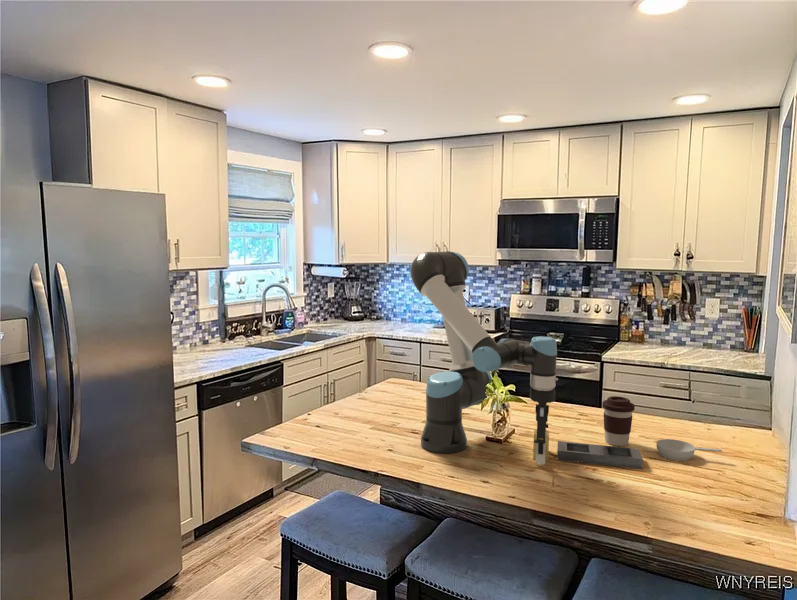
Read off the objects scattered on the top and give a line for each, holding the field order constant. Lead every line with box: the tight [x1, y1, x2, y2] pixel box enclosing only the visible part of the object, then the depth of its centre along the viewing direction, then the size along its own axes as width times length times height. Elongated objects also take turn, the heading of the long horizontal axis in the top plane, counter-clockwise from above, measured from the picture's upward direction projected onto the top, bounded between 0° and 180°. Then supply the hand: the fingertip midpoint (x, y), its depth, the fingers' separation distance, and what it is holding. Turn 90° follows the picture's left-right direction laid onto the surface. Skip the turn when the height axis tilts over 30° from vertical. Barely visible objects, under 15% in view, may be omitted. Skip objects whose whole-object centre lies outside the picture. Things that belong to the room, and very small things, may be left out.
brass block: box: [532, 429, 550, 462], centre depth 170 cm, size 4×4×8 cm
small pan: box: [656, 438, 722, 462], centre depth 171 cm, size 11×18×4 cm, turn 68°
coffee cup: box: [601, 395, 636, 447], centre depth 182 cm, size 10×10×15 cm
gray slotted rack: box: [556, 440, 644, 470], centre depth 169 cm, size 24×8×3 cm, turn 74°
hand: (540, 455), depth 171 cm, fingers open, 12 cm apart
